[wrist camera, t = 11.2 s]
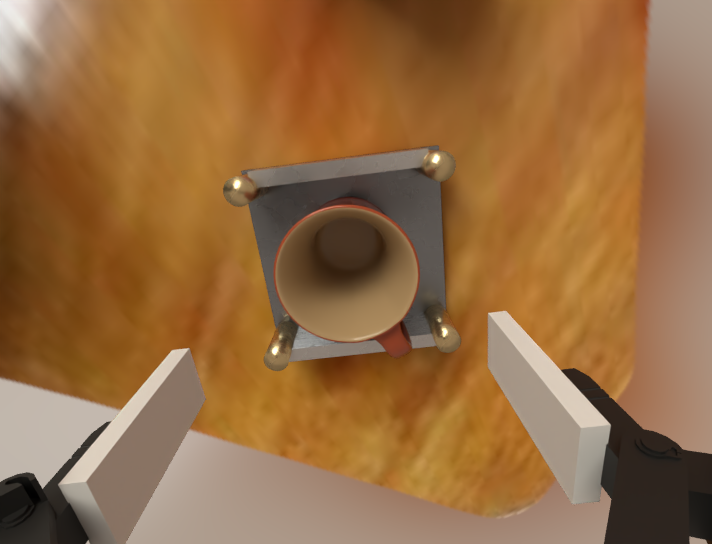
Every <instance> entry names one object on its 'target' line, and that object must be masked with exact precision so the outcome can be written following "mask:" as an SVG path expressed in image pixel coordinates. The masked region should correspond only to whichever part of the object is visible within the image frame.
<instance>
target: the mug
mask: <svg viewBox="0 0 712 544" xmlns="http://www.w3.org/2000/svg"><path fill="white" fill-rule="evenodd" d="M419 282H420V266H419V260H418V256H417V253H416V250H415V248H414V246H413V244H412V242H411V240H410V239H409V237H408V235H407V234H406V233H405V232H404V230H403V229H402V228H401V227H400V226H399V225H398V224H397V223H395V222H394V221H393V220H392V219H390V218H389V217H387V215H386V214H385V213H384V212H383V211H382V210H381V209H380V208H379V207H377V206H376V205H374V204H373V203H371V202H369V201H367V200H364V199H361V198H356V197H341V198H337V199H333V200H331V201H328V202H326V203H325V204H323V205H321V206H320V207H319V208H318V209H316V210H315V211H314V212H312V213H310V214H309V215H307V216H305V217H304V218H302V219H301V220H300V221H298V222H297V223H296V224H295V225H294V226H293V227H292V228H291V229H290V230H289V231H288V233H287V234H286V235H285V237H284V238H283V240H282V242H281V244H280V246H279V248H278V251H277V254H276V257H275V262H274V284H275V289H276V293H277V296H278V298H279V301H280V303H281V304H282V306H283V308H284V310H285V311H286V312H287V314H288V315H289V316H290V317H291V319H292V320H293V321H294V322H295V323H296V324H298V325H299V326H300V327H301V328H303V329H304V330H306V331H307V332H309V333H311V334H313V335H315V336H317V337H320V338H322V339H325V340H329V341H334V342H342V343H359V342H364V341H367V340H370V339H374V340H376V341H377V342H378V343H380V344H381V345H382V346H383V348H384V349H385V350H386V352H387V353H388V354H389V355H390V356H391V357H393V358H396V359H397V358H400V357H403V356H404V355H406V354H408V353H409V352H410V351H411V350H412V342H411V339H410V336H409V333H408V330H407V328H406V326H405V323H404V321H403V319H404V318H405V317H406V315H407V314H408V312H409V311H410V309H411V307H412V305H413V303H414V300H415V298H416V295H417V292H418V288H419Z"/></svg>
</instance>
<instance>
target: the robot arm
mask: <svg viewBox="0 0 712 544" xmlns="http://www.w3.org/2000/svg"><path fill="white" fill-rule="evenodd" d="M488 368H489V370H490V371H491V373H492V374H493V376H494V378H495V379H496V381H497V383H498V384H499V386H500V388H501V389H502V391H503V392H504V394H505V396H506V397H507V399H508V401H509V402H510V404H511V405H512V407H513V409H514V410H515V412H516V414H517V415H518V417H519V419H520V420H521V422H522V423H523V425H524V427H525V428H526V430H527V432H528V433H529V435H530V436H531V438H532V440H533V441H534V443H535V445H536V446H537V448H538V449H539V451H540V453H541V454H542V456H543V458H544V459H545V461H546V463H547V464H548V466H549V467H550V469H551V471H552V472H553V474H554V476H555V477H556V479H557V480H558V482H559V484H560V485H561V487H562V489H563V490H564V492H565V493H566V495H567V497H568V498H569V500H570V502H571V503H572V504H580V503H590V502H599V501H600V494H601V487H603V488H604V490H605V491H606V492H607V493H608V495H609V496H610V498H611V499H612V500H611V506H610V512H609V518H608V523H607V530H606V535H605V542H604V544H689V536H691V537H695V538H700V539H705V540H706V541H707V543H708V544H712V454H707V453H700V452H693V451H687V450H683V449H682V448H681V447H680V446H679V445H678V444H677V443H676V442H674V441H672V440H671V439H669V438H668V437H666V436H663V435H661V434H659V433H657V432H654V431H649V430H644V429H642V428H641V427H640V426H639V425H638V424H637V423H636V422H635V421H634V420H633V419H632V418H631V417H630V416H629V415H628V414H627V413H626V412H625V411H624V410H623V409H622V408H621V407H620V406H619V405H618V404H617V403H616V402H615V401H614V400H613V399H612V398H609V395H608V394H607V393H606V392H605V391H604V390H603V389H601V388H600V386H599V385H598V384H597V383H596V382H595V381H594V380H592V379H591V378H590V377H589V376H587V375H586V374H584V373H582V372H580V371H578V370H577V369H575V368H573V369H564V370H560V369H559V368H558V367H557V366H556V365H555V364H554V363H553V362H552V360H551V359H550V358H549V357H548V356H547V355H546V354H545V353H544V352H543V351H542V350H541V349H540V347H539V346H538V345H537V344H536V343H535V342H534V341H533V340H532V339H531V338H530V337H529V336H528V334H527V333H526V332H525V331H524V330H523V329H522V328H521V327H520V326H519V325H518V324H517V322H516V321H515V320H514V319H513V318H512V317H511V316H510V315H509V314H508V313H507V312H506V311H502V312H493V313H488ZM205 400H206V398H205V395H204V392H203V389H202V386H201V383H200V380H199V377H198V373H197V370H196V367H195V364H194V361H193V358H192V355H191V352H190V349H189V348H186V349H178V350H172V351H171V352H170V353H169V355H168V356H167V357H166V358H165V359H164V361H163V362H162V363H161V364H160V365H159V366H158V368H157V369H156V370H155V371H154V372H153V373H152V375H151V376H150V377H149V378H148V379H147V381H146V382H145V383H144V384H143V385H142V386H141V388H140V389H139V390H138V391H137V392H136V393H135V395H134V396H133V397H132V398H131V399H130V401H129V402H128V403H127V404H126V405H125V406H124V408H123V409H122V410H121V411H120V412H119V414H118V415H117V416H116V417H115V418H114V419H113V421H111V422H106V423H105V424H104V425H102V426H101V427H100V428H98V429H97V430H96V431H94V432H93V433H92V434H91V435H90V436H89V437H88V438H87V439H86V440H85V442H84V443H83V444H82V445H81V448H78V450H77V451H76V452H75V453H74V454H73V455H72V458H71V459H69V460H68V461H67V462H66V463H65V464H64V465H63V467H62V468H61V469H60V470H59V471H58V473H56V474H55V476H54V477H53V478H52V479H51V480H50V481H49V482H48V484H47V485H46V486H45V487H44V488H43V489H42V488H41V486H40V484H39V482H38V481H37V479H36V477H35V475H34V474H32V473H22V474H17V475H14V476H12V477H10V478H7V479H5V480H3V481H1V482H0V544H86V542H87V541H88V540H89V542H90V544H125V543H126V541H127V540H128V538H129V536H130V534H131V532H132V531H133V529H134V527H135V525H136V523H137V522H138V520H139V518H140V516H141V514H142V512H143V511H144V509H145V507H146V505H147V503H148V502H149V500H150V498H151V497H152V494H153V493H154V491H155V489H156V488H157V486H158V484H159V482H160V480H161V479H162V477H163V475H164V473H165V471H166V470H167V468H168V466H169V464H170V462H171V461H172V459H173V457H174V455H175V453H176V452H177V450H178V448H179V446H180V444H181V443H182V441H183V439H184V437H185V435H186V434H187V432H188V430H189V428H190V427H191V425H192V423H193V421H194V419H195V418H196V416H197V414H198V412H199V410H200V409H201V407H202V405H203V403H204V401H205Z"/></svg>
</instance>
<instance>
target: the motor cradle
mask: <svg viewBox="0 0 712 544" xmlns="http://www.w3.org/2000/svg"><path fill="white" fill-rule="evenodd" d="M455 167H456V163H455V159H454V157H453V156H452V155H451V154H450V153H449V152H446V151H439V146H429V147H421V148H413V149H405V150H398V151H390V152H382V153H375V154H367V155H359V156H351V157H344V158H336V159H328V160H320V161H313V162H305V163H297V164H289V165H282V166H274V167H266V168H259V169H251V170H244V171H241V172H242V175H241V176H237V177H233V178H231V179H229V180H228V181H226V183H225V185H224V188H223V193H224V196H225V198H226V200H227V201H228V202H229V203H230V204H232V205H234V206H238V207H241V206H245V205H247V204H249V208H250V213H251V217H252V222H253V226H254V231H255V236H256V240H257V245H258V249H259V254H260V258H261V263H262V267H263V272H264V276H265V281H266V285H267V290H268V294H269V299H270V303H271V308H272V313H273V317H274V322H275V326H276V331H275V333H274V335H273V338H272V340H271V342H270V345H269V347H268V349H267V352H266V354H265V356H264V363H265V365H266V366H267V367H268V368H269V369H271V370H274V371H280V370H283V369H285V368H286V367H287V365H288V363H289V362H292V361H301V360H311V359H320V358H329V357H338V356H348V355H357V354H366V353H375V352H385V351H386V350H385V349H384V348H383V346H382V345H381V344H380V343H378V342H377V341H376V340H374V339H370V340H367V341H364V342H359V343H342V342H334V341H329V340H325V339H322V338H320V337H317V336H315V335H313V334H311V333H309V332H307V331H306V330H304V329H303V328H301V327H300V326H299V325H298V324H296V323H295V322H294V321H293V320H292V319H291V317H290V316H289V315H288V314H287V312H286V311H285V310H284V308H283V306H282V304H281V303H280V301H279V298H278V296H277V293H276V289H275V284H274V262H275V257H276V254H277V251H278V248H279V246H280V244H281V242H282V240H283V238H284V237H285V235H286V234H287V233H288V231H289V230H290V229H291V228H292V227H293V226H294V225H295V224H296V223H297V222H298V221H300V220H301V219H302V218H304V217H305V216H307V215H309V214H310V213H312V212H314V211H315V210H316V209H318V208H319V207H320V206H321V205H323V204H325V203H326V202H328V201H331V200H333V199H337V198H341V197H356V198H361V199H364V200H367V201H369V202H371V203H373V204H374V205H376V206H377V207H379V208H380V209H381V210H382V211H383V212H384V213H385V214H386V215H387V217H389V218H390V219H392V220H393V221H394V222H395V223H397V224H398V225H399V226H400V227H401V228H402V229H403V230H404V232H405V233H406V234H407V235H408V237H409V239H410V240H411V242H412V244H413V246H414V248H415V250H416V253H417V256H418V260H419V266H420V282H419V288H418V292H417V295H416V298H415V300H414V303H413V305H412V307H411V309H410V311H409V312H408V314H407V315H406V317H405V318H404V319H403V321H404V323H405V326H406V328H407V330H408V333H409V336H410V339H411V342H412V349H413V348H422V347H431V346H437V348H438V349H439V350H440V351H442V352H445V353H449V352H453V351H455V350H456V349H458V347H459V346H460V344H461V338H460V336H459V334H458V332H457V330H456V328H455V327H454V325H453V323H452V321H451V319H450V317H449V316H448V314H447V312H446V299H445V277H444V254H443V232H442V209H441V187H440V181H445V180H447V179H449V178H450V177H451V176H452V175H453V173H454V171H455Z"/></svg>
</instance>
